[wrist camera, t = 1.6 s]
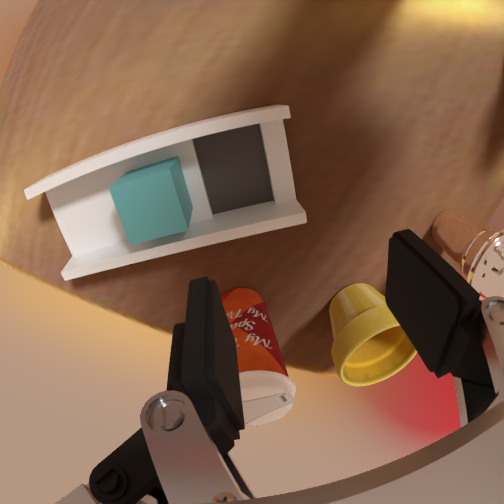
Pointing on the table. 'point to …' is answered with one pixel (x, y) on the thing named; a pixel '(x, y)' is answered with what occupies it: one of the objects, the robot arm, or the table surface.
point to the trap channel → (198, 184)
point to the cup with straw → (473, 251)
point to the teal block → (153, 201)
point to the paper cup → (258, 359)
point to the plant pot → (366, 337)
